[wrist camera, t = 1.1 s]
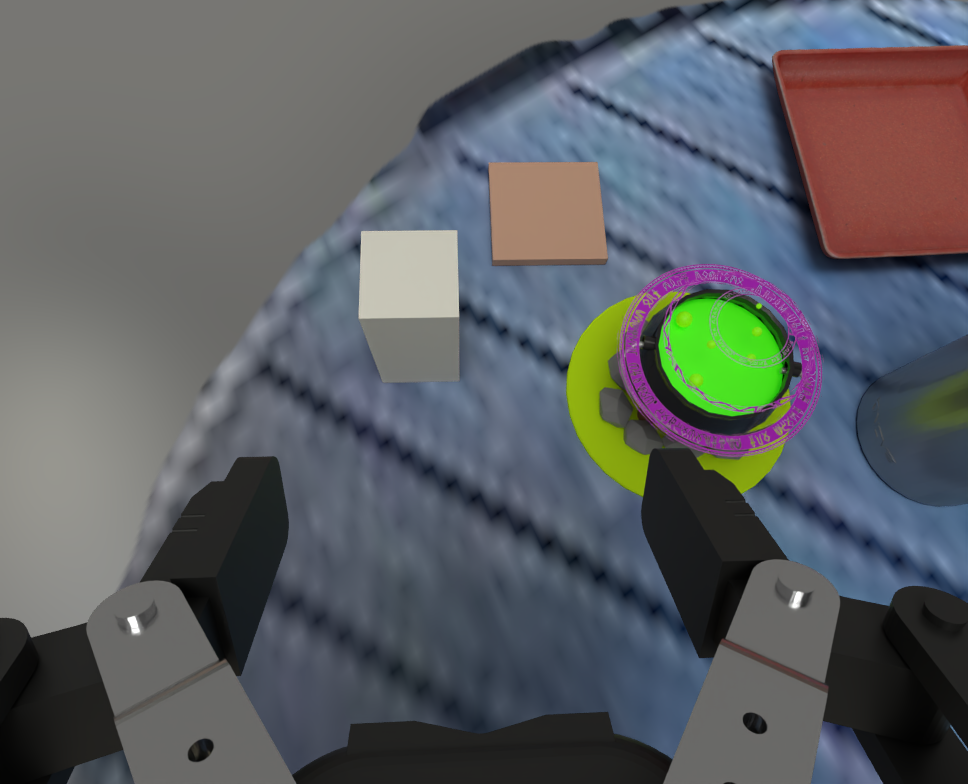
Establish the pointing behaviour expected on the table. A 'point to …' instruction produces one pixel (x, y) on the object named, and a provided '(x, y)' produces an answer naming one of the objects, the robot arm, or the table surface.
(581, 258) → the coaster
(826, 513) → the table surface
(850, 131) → the plant saucer
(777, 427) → the toy cauldron
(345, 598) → the table surface
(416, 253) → the plain off-white block
